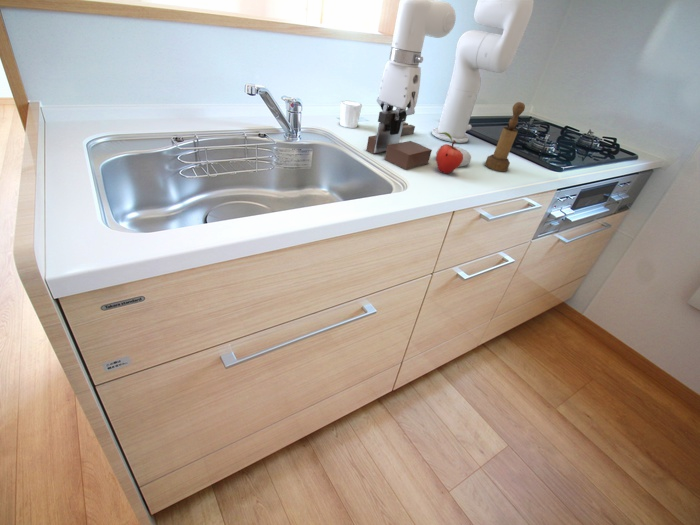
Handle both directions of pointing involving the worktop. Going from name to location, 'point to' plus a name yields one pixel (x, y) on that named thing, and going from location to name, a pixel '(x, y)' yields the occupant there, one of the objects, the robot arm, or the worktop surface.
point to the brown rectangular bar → (372, 144)
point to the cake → (407, 154)
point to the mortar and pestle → (505, 142)
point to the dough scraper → (386, 131)
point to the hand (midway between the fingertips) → (389, 131)
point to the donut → (465, 156)
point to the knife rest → (407, 129)
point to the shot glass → (350, 113)
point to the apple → (448, 157)
